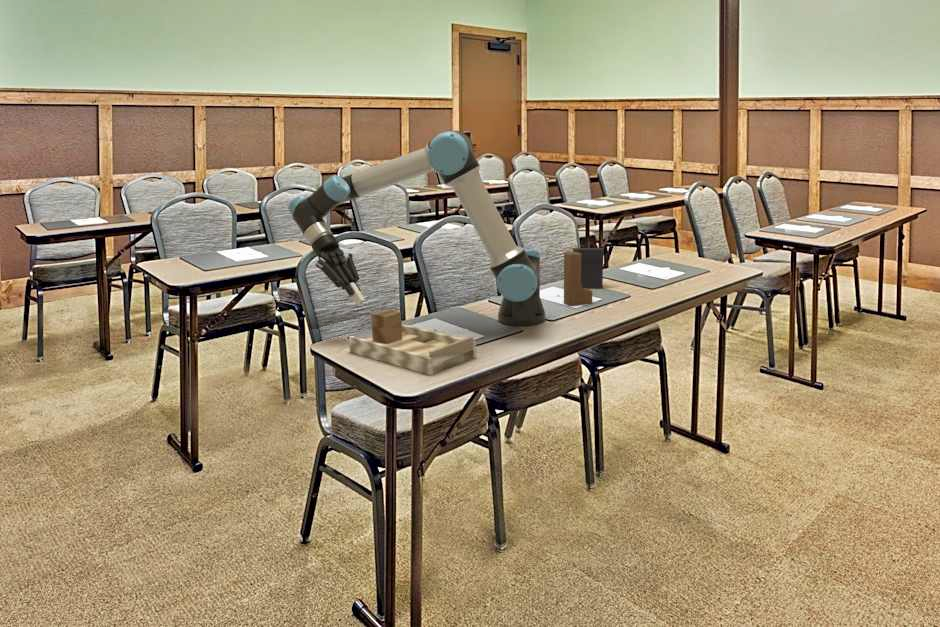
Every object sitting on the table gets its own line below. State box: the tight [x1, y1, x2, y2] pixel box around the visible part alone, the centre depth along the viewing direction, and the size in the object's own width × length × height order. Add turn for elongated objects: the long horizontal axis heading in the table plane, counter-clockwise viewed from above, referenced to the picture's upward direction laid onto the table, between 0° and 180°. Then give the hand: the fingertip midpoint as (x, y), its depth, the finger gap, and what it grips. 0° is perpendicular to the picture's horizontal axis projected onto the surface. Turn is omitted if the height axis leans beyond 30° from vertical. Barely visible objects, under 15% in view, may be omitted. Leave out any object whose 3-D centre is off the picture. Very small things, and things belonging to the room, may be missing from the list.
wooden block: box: [563, 251, 593, 307], centre depth 263 cm, size 9×4×18 cm, turn 109°
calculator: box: [572, 247, 604, 290], centre depth 285 cm, size 11×4×15 cm, turn 86°
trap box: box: [348, 323, 478, 376], centre depth 214 cm, size 32×18×6 cm, turn 49°
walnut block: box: [370, 308, 402, 344], centre depth 219 cm, size 6×6×8 cm
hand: (361, 302), depth 224 cm, fingers closed
